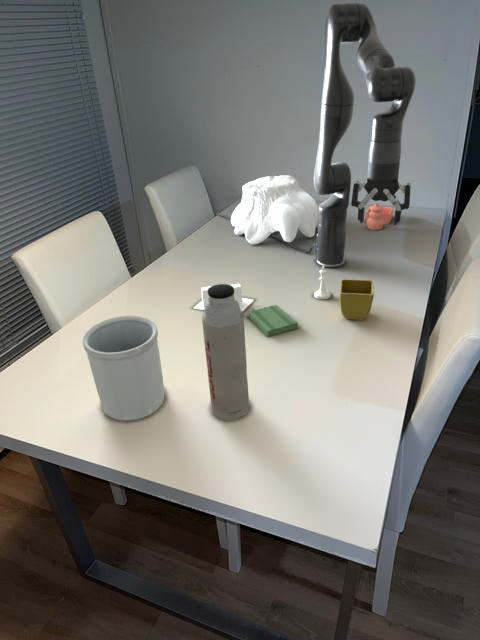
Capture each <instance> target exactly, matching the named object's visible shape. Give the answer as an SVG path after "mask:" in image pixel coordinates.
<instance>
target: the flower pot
mask: <svg viewBox="0 0 480 640" xmlns="http://www.w3.org/2000/svg"><path fill="white" fill-rule="evenodd" d="M374 297H375V289H374V281H373V280H371V279H350V278H347V279H345V278H343V279H340V288H339V303H340V304H339V305H340V312H341V314H342V316H343V317H344V319H345V320H358V321H359V320H360V321H363V320H365V319H366V318H367V317H368V316H369V314H370V312H371V309H372V306H373V302H374Z"/></svg>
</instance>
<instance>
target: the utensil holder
mask: <svg viewBox="0 0 480 640" xmlns="http://www.w3.org/2000/svg"><path fill="white" fill-rule="evenodd" d="M158 333H159V332H158V327H157V325H156V323H155V321H152V319H149V318H147V317H145V316H140V315H121V316H114V317H111V318H107V319H105V320H102V321H100V322H98V323H96V324H94V325H92V326H91V327H90V328H89V329H88V330H86V332H84V335H83V338H82V345H83V348H84V350H85V353H86V355H87V360H88V363H89V366H90V370H91V374H92V378H93V381H94V385H95V389H96V392H97V395H98V398H99V401H100V404H101V408H102V410H103V412H104V413H105V414H106V415H107V416H108V417H110V418H111V419H114V420H117V421H129V422H130V421H136V420H141V419H143V418H146V417H148V416H151V415H152V414H153V413H156V411H158V410H159V408H160V407H161V406H162V405H163V403H164V400H165V385H164V384H165V383H164V376H163V369H162V362H161V361H162V360H161V355H160V348H159V341H158V335H159V334H158Z"/></svg>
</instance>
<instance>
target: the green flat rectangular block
mask: <svg viewBox="0 0 480 640" xmlns="http://www.w3.org/2000/svg"><path fill="white" fill-rule="evenodd" d="M247 314H248V315H247V316H248V318H249V319H250V320H251V321H252V322H253V324H255V325H256V326H257V328H259V329H260V331H262V333H263V334H265V336H266V337H270V336H274V335H277V334H282V333H284V332H287V331H291V330H294V329H298V327H299V326H298V322H297V321H296V320H295V319H294V318H292V317H291V316H290V315H289V314H288V313H287V312H286V311H285V310H284V309H282V308H281V307H280V306H279V305H277V304H274V305H273V304H272V305H269V306H267V307H263V308H259V309H254V310H251V311H248V313H247Z"/></svg>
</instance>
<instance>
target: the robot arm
mask: <svg viewBox="0 0 480 640" xmlns="http://www.w3.org/2000/svg"><path fill="white" fill-rule="evenodd" d="M372 13H373V12H372V11H371V9H370V7H369V6H368V4H366V3H364V2H359V1H357V2H356V1H355V2H335V3H332V4H331V5H330V6H329V7H328V10H327V13H326V19H325V30H324V32H325V33H324V34H325V35H324V72H323V73H324V75H323V85H322V95H321V103H320V104H321V106H320V121H319V123H320V124H319V137H318V145H317V152H316V156H315V157H316V159H315V164H314V171H313V186H314V190H315V192H316V193H317V195H318V196H319V195H320V196H327V195H331V196H329V198H327V199H326V200H324V201H323V202H321V203H319V205H318V228H317V233H316V241H315V242H314V243H312V246H310V248H309V249H308V250H305V249H302V248H300V247H299V246H296V245H294V244H293V243H291V242H286V241H285V240H284V239H283V238H280V237H278V236H276V235H275V234H274V233H271V234H270V235H269V236H270V237H272V238H274V239H276V240H278V241H280V242H282V243H283V244H285V245H286V246H289V247H291V248H294V249H295V250H297V251H299V252H301V253H305V254H309V253H312V251H314V252H315V260H316V264H317V265H318V266H319V267H322V265H324V268H338V267H339V268H340V267H341V266H343V265H345V260H346V238H347V237H346V235H347V217H348V216H347V215H348V208H349V205H351V207H355V208H357V211H358V212H357V221H359V223H360V224H363V223H364V220H365V211H366V210H365V209H366V207H365V206H366V205H367V204H368V203H369V202H370V201H371V200H373V202H378V201H381V202H387V201H389V202H390V204H391V205H392V206H393V208H394V209H395V210H394V220H393V226H397V225H398V224H400V221H401V218H402V212H403V210H408V209H409V208H410V203H411V189H412V187H411V186H412V184H411V183H410V182H407V183H399V174H400V167H401V166H400V164H401V157H402V156H401V155H402V139H403V138H402V137H403V129H404V128H403V127H404V122H405V117H406V116H407V115H406V114H407V112H408V108H409V106H410V103H411V101H412V98H413V95H414V92H415V89H416V83H417V81H416V80H417V79H416V74H415V71H414V70H413V69H412V68H411V67H410V66H395V65H396V64H395V63H396V62H395V59H394V57H393V55H392V54H391V53H390V51H389V49H388V48H387V47H386V45H385V44H384V43H383V41H382V39H381V36H380V34H379V29H378V27H377V24H376V21H375V19H374V16H373V14H372ZM356 43H359V46H358V48H357V51H356V61H357V64H358V66H359V68H360V70H361V72H362V73H363V75H364V76H365V81H366V92H367V97H369V99H370V100H371V101H373V102H374V103H389V102H392V103H391V105H390V107H389V108H388V109H387V110H385V111H382V112H379V113H377V114H374V116H373V117H372V121H371V133H370V134H371V135H370V143H369V144H370V145H369V148H368V155H367V159H368V161H367V172H366V181H365V182H360V181H359V180H356V181H355V182H354V183H353V187H352V171H351V167H350V166H349V165H348V163H346V162H344V161H343V162H342V161H340V162H333V163H332V161H333V156H334V154H335V151H336V149H337V147H338V145H339V143H340V141H341V140H342V138H343V137H344V136H345V134H346V132H347V131H348V129H349V127H350V126H351V123H352V121H353V114H354V106H355V93H354V91H353V87H352V85H351V83H350V81H349V79H348V77H347V74H346V72H345V70H344V68H343V65H342V60H341V44H356ZM351 187H352V195H351ZM363 188H364V190H365V192H366V193H367V194H366V195H365V196H364V197H363V199H362V200H361V201H359V200H358V199H359V194H360V193H359V192H361V191H362V190H363ZM399 190H401V194H404V195H403V196H404V198H403V203H401V201H400V200H399V198H398V196H397V195H396V193H397V192H398V191H399ZM350 196H351V202H350ZM215 215H217V216H219V217H223V218H225V219H228V220H231V217H232V216H228V215H226V214H222V213H219V212H215Z"/></svg>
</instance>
